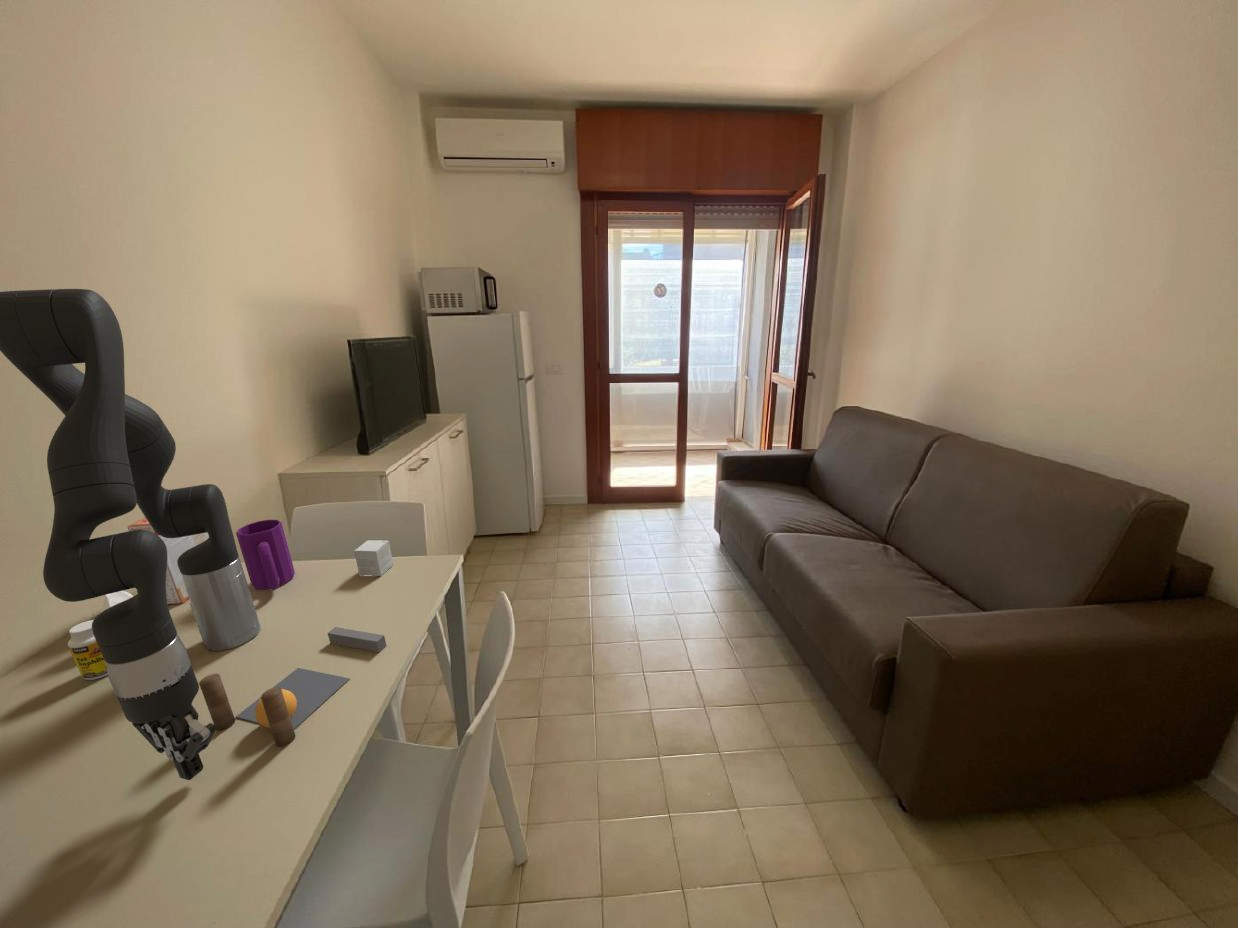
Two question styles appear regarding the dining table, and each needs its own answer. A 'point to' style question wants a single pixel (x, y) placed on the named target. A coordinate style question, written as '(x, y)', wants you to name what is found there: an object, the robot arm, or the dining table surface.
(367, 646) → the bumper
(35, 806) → the dining table surface
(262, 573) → the mug
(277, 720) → the right post
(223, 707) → the left post
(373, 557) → the product box
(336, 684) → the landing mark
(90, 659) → the supplement bottle
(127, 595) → the white tapered piece
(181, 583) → the cracker box
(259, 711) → the ball
